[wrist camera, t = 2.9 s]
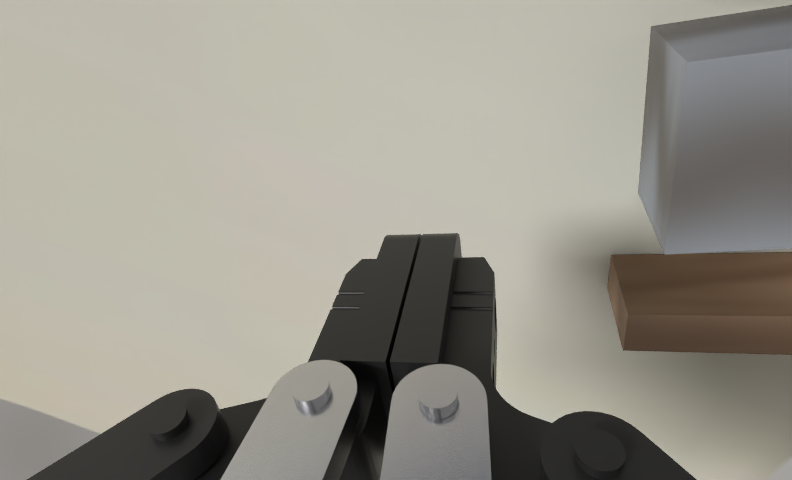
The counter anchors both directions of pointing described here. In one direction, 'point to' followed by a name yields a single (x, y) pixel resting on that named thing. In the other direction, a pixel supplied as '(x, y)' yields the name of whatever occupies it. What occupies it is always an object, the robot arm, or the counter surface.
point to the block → (719, 133)
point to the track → (703, 302)
